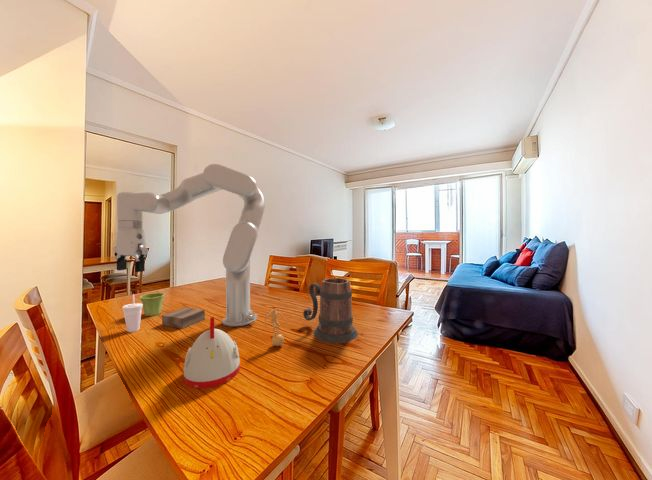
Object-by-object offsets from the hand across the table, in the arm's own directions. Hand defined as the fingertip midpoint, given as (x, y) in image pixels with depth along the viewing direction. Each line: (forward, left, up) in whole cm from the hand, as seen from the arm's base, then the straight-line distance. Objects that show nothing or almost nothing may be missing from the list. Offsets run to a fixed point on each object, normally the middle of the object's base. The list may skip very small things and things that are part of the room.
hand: (130, 270), depth 96 cm
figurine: (-58, -7, -23) cm, 63 cm away
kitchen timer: (-50, +13, -23) cm, 57 cm away
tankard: (-71, -24, -23) cm, 79 cm away
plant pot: (+11, -16, -23) cm, 30 cm away
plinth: (-11, -13, -23) cm, 29 cm away
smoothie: (0, 0, -23) cm, 23 cm away
